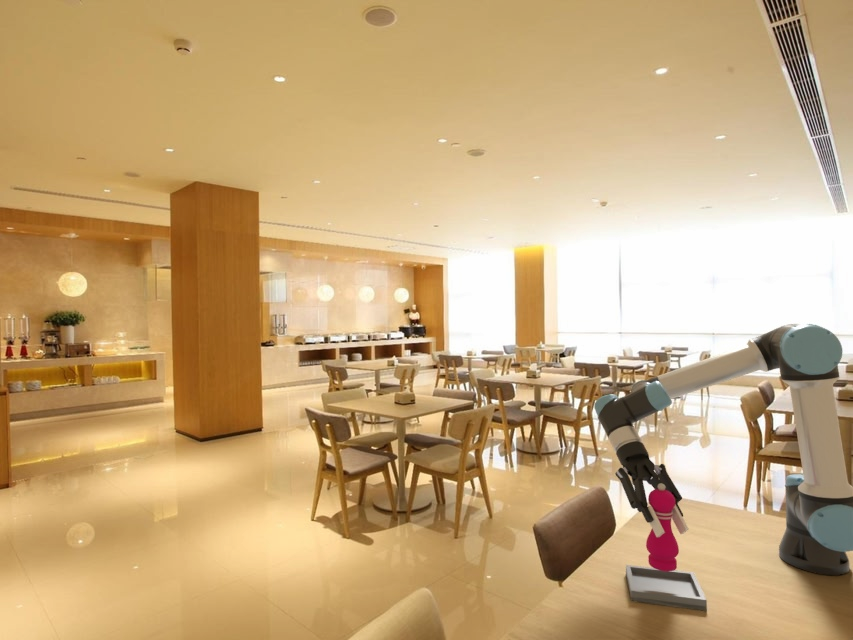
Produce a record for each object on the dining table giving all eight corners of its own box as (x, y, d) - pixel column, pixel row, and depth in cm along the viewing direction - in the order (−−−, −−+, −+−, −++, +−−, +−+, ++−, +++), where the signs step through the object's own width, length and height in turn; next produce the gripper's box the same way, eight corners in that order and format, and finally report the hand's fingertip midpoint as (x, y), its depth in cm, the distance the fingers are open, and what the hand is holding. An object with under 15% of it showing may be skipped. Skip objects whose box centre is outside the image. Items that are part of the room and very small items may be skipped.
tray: (694, 582, 128) (693, 572, 128) (706, 611, 115) (706, 600, 115) (625, 574, 132) (625, 564, 132) (631, 601, 120) (631, 590, 120)
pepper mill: (682, 573, 119) (681, 489, 119) (650, 571, 121) (649, 487, 121) (674, 559, 126) (673, 479, 126) (643, 557, 128) (642, 478, 128)
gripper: (652, 452, 141) (698, 535, 125) (591, 457, 136) (630, 544, 120) (665, 437, 136) (714, 522, 120) (602, 442, 131) (645, 531, 115)
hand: (672, 533), depth 120 cm, fingers closed on pepper mill, 6 cm apart
